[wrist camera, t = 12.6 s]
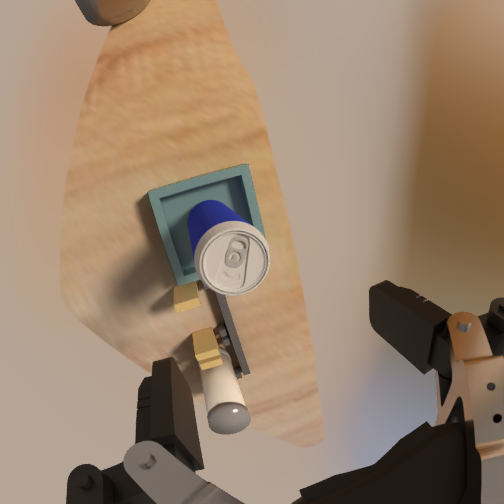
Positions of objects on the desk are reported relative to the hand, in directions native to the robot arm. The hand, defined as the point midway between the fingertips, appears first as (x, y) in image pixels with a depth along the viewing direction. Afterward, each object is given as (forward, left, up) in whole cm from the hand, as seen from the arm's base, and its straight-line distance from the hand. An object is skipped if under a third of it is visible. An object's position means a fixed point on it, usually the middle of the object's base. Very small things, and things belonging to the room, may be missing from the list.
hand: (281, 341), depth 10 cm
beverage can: (0, 0, -24) cm, 24 cm away
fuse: (+19, -5, -24) cm, 31 cm away
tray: (0, 0, -24) cm, 24 cm away
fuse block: (+14, -4, -24) cm, 28 cm away
